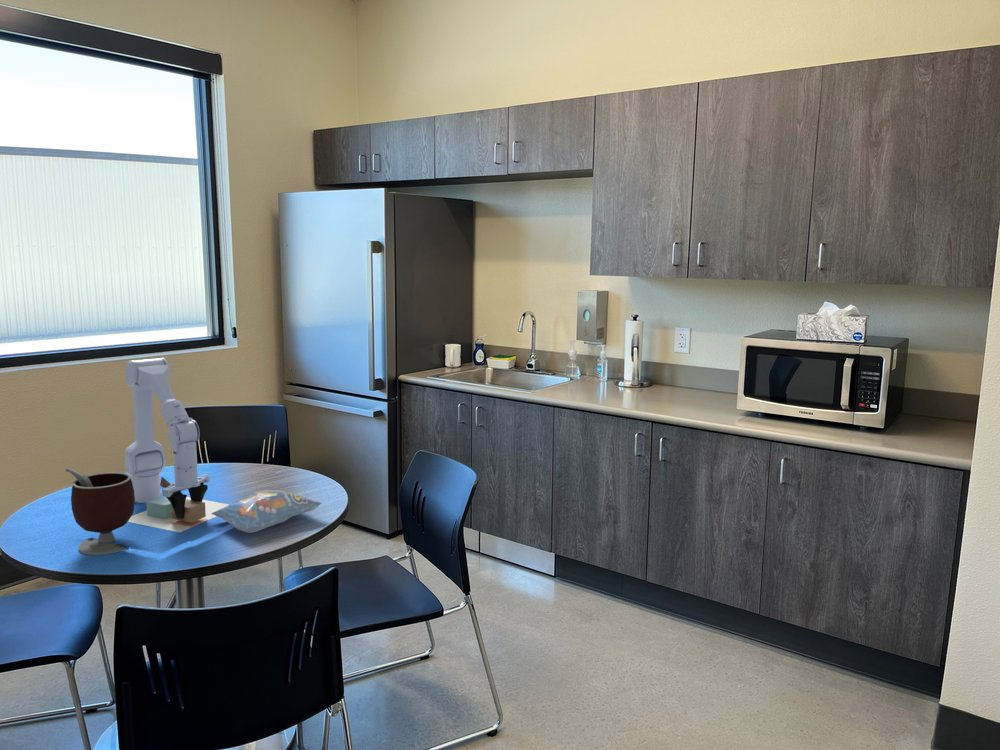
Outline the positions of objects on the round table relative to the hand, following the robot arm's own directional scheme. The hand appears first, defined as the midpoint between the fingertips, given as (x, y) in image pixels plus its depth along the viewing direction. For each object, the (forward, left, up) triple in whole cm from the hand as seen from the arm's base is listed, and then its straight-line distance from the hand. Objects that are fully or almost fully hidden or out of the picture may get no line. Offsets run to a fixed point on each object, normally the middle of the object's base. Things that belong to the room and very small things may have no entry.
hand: (188, 514), depth 197 cm
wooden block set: (-34, +14, -3) cm, 37 cm away
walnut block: (0, 0, -1) cm, 1 cm away
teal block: (-10, +1, -2) cm, 10 cm away
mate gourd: (-9, -19, -3) cm, 21 cm away
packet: (+18, +10, -3) cm, 21 cm away
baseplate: (-6, +4, -3) cm, 8 cm away
